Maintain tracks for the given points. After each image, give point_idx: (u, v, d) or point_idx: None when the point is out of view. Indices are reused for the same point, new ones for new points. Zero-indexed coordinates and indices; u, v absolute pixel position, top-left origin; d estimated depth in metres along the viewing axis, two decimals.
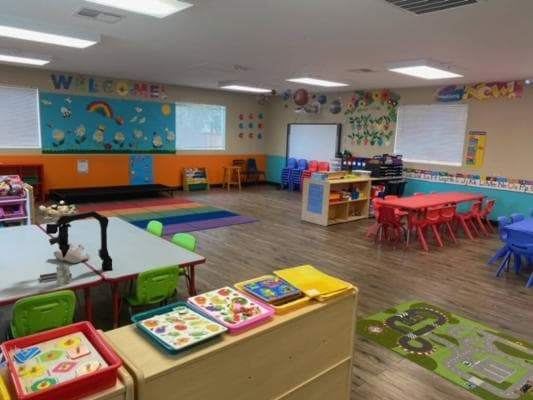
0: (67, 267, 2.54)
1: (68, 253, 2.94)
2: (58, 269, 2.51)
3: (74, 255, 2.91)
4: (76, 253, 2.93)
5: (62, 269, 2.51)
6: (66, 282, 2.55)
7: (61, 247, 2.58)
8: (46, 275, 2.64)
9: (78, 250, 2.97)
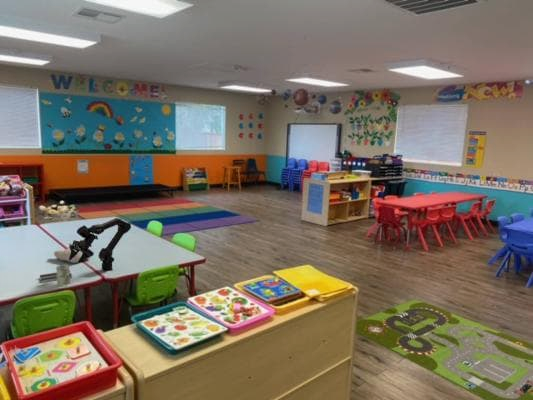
0: (67, 267, 2.54)
1: (68, 253, 2.94)
2: (58, 269, 2.51)
3: None
4: None
5: (62, 269, 2.51)
6: (66, 282, 2.55)
7: (88, 251, 2.58)
8: (46, 275, 2.64)
9: None
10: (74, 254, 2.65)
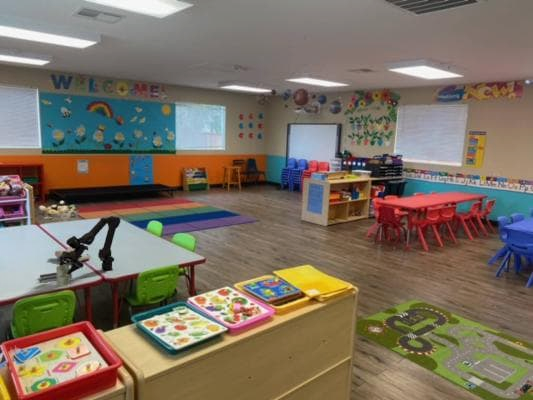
0: (67, 267, 2.54)
1: None
2: (58, 269, 2.51)
3: None
4: None
5: (62, 269, 2.51)
6: (66, 282, 2.55)
7: (78, 263, 2.52)
8: (46, 275, 2.64)
9: None
10: None
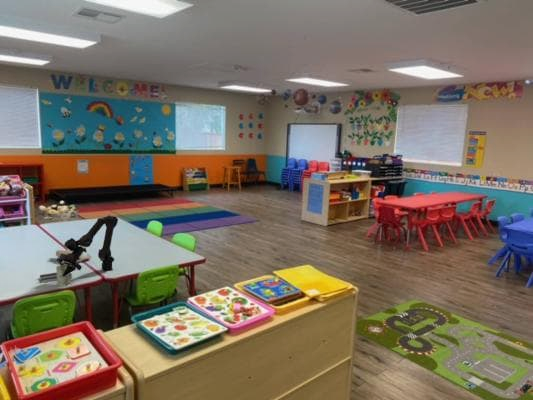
0: None
1: None
2: (58, 269, 2.51)
3: None
4: None
5: (62, 269, 2.51)
6: (66, 282, 2.55)
7: (76, 265, 2.51)
8: (46, 275, 2.64)
9: None
10: None
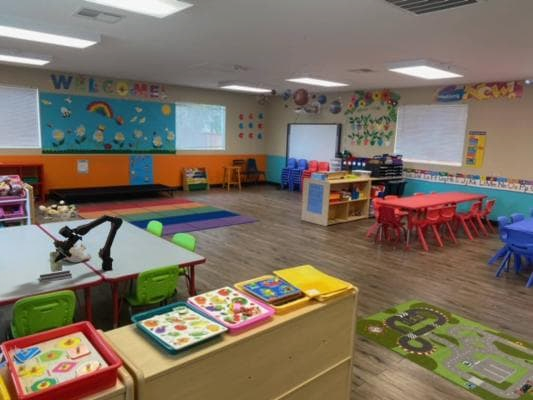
0: None
1: None
2: (50, 255, 2.57)
3: (75, 255, 2.92)
4: (77, 253, 2.94)
5: (54, 255, 2.56)
6: (59, 269, 2.60)
7: (65, 252, 2.54)
8: (46, 275, 2.64)
9: (79, 250, 2.98)
10: None
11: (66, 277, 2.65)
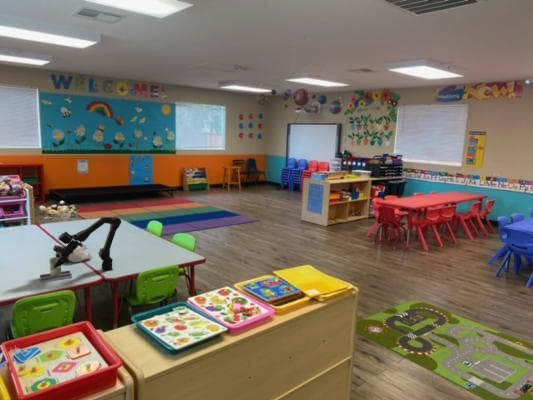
0: None
1: None
2: (50, 261, 2.61)
3: (75, 254, 2.93)
4: (77, 252, 2.94)
5: (53, 261, 2.61)
6: None
7: (62, 258, 2.57)
8: (46, 275, 2.64)
9: (80, 250, 2.98)
10: None
11: (66, 277, 2.65)
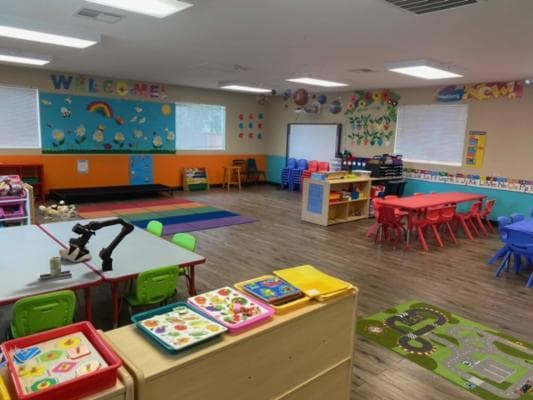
0: (58, 260, 2.63)
1: None
2: (50, 261, 2.61)
3: (75, 254, 2.93)
4: (77, 252, 2.95)
5: (53, 261, 2.61)
6: None
7: (83, 251, 2.63)
8: (46, 275, 2.64)
9: None
10: (73, 249, 2.72)
11: (66, 277, 2.65)
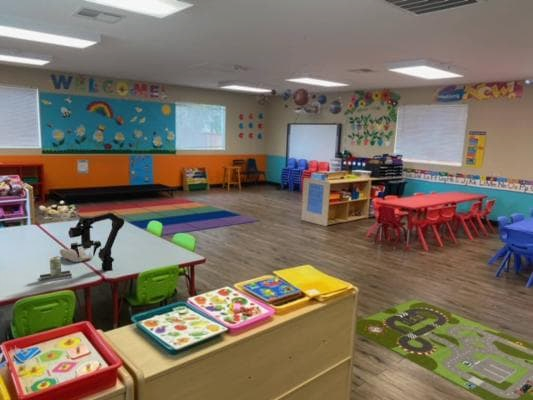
0: (58, 260, 2.63)
1: (71, 252, 2.97)
2: (50, 261, 2.61)
3: (75, 254, 2.93)
4: None
5: (53, 261, 2.61)
6: None
7: (100, 244, 2.72)
8: (46, 275, 2.64)
9: (80, 249, 2.99)
10: None
11: (66, 277, 2.65)
